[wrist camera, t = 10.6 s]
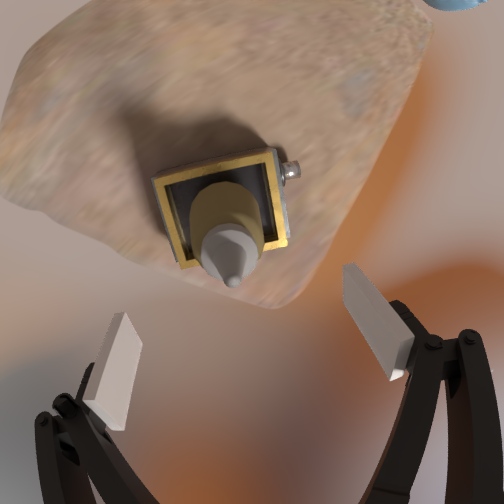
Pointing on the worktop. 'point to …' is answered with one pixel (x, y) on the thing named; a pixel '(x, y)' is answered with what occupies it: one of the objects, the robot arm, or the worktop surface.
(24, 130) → the worktop surface
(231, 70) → the worktop surface
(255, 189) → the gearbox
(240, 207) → the squeeze bottle
